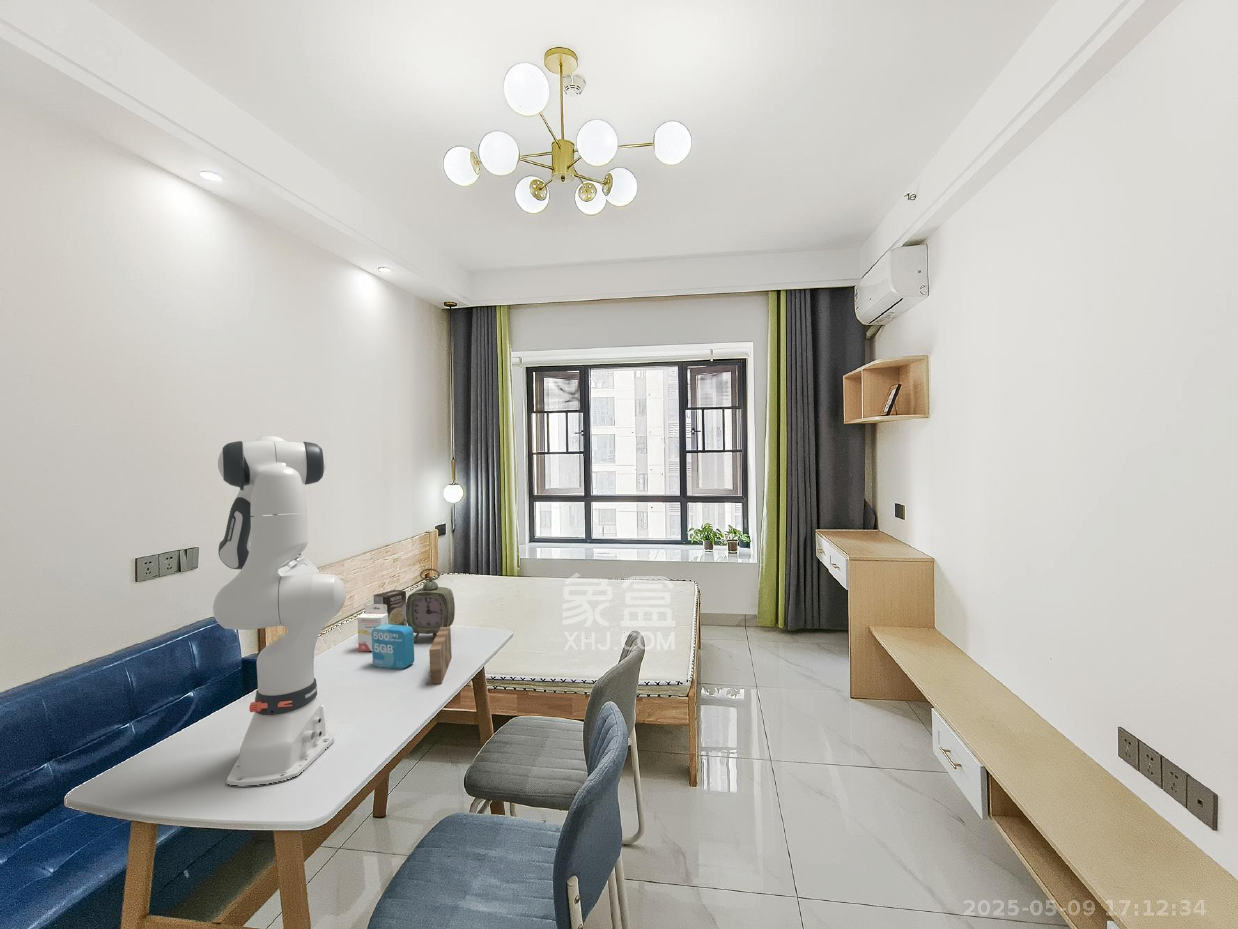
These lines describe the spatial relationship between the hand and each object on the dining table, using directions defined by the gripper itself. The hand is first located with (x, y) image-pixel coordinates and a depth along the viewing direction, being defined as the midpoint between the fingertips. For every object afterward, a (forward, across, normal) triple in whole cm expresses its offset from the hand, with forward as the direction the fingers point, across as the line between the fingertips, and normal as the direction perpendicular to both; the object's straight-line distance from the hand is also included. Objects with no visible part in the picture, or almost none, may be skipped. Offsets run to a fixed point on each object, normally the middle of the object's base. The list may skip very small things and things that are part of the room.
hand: (316, 593), depth 175 cm
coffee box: (+27, +27, +7) cm, 39 cm away
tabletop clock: (+38, +22, -4) cm, 44 cm away
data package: (+32, 0, +2) cm, 32 cm away
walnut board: (+43, -7, -9) cm, 44 cm away
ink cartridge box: (+25, +16, +9) cm, 31 cm away
